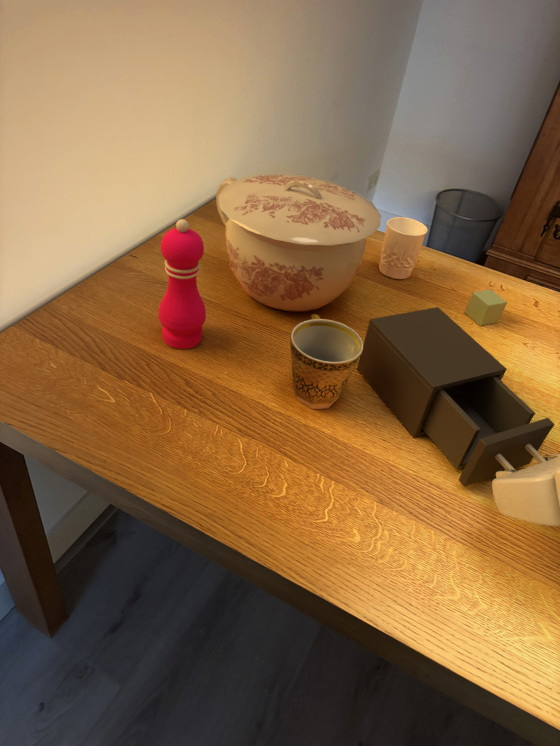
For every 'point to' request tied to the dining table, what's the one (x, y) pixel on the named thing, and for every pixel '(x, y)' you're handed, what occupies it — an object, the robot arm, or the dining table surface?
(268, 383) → the dining table surface
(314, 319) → the ceramic cup
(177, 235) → the pepper mill
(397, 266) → the white cup
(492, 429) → the dark brown drawer
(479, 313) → the block
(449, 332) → the drawer box
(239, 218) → the chamber pot
